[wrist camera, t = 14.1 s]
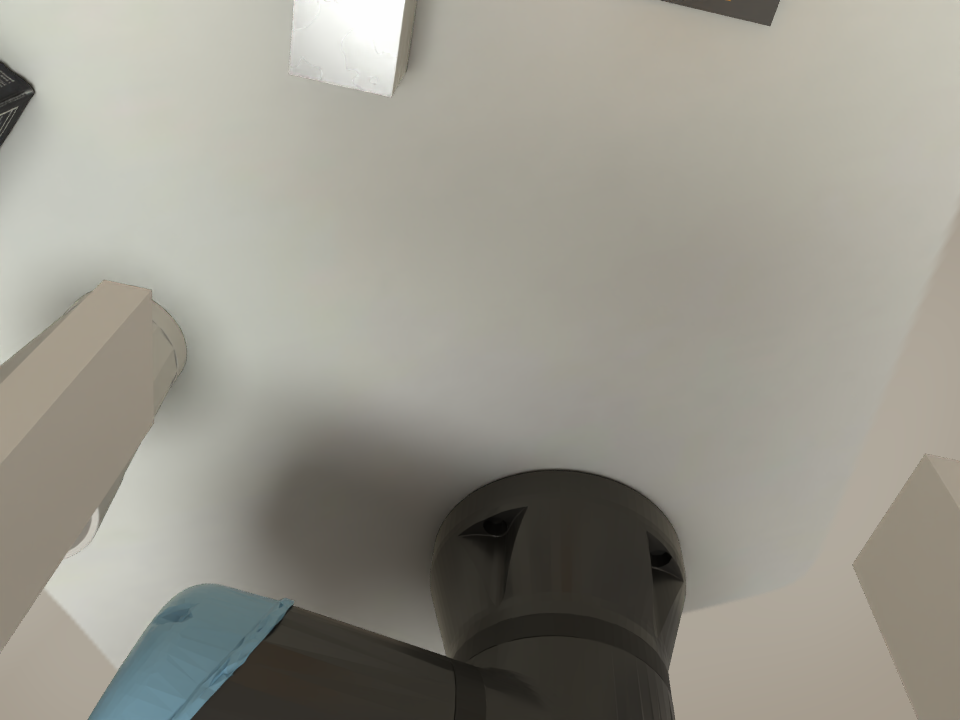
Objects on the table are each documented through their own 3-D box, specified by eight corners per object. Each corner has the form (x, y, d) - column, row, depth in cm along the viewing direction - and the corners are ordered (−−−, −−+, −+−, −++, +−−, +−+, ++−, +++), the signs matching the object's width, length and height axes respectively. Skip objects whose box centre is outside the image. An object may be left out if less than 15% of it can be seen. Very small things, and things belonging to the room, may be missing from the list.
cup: (82, 244, 40) (-72, 381, 30) (226, 329, 43) (127, 483, 33) (31, 352, 44) (-120, 505, 34) (166, 424, 46) (61, 589, 36)
